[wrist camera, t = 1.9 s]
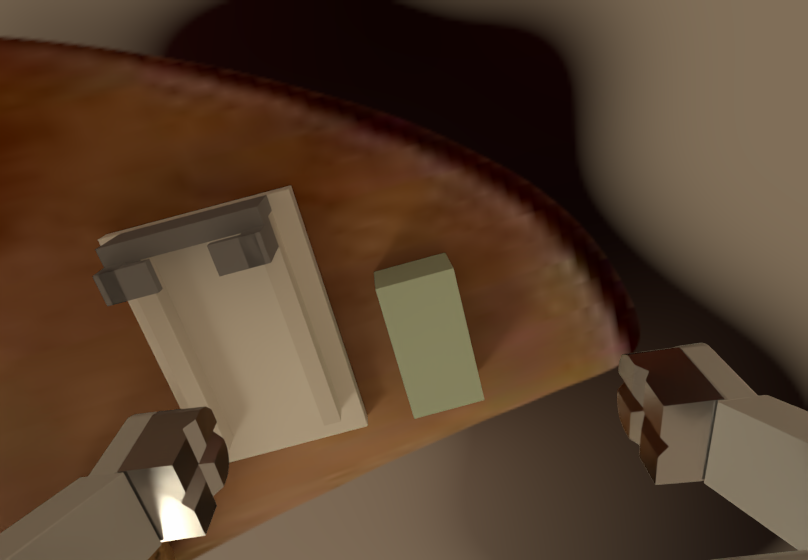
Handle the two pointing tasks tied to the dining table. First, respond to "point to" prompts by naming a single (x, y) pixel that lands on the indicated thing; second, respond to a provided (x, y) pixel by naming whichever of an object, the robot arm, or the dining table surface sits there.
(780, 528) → the robot arm
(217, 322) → the beige shallow tray
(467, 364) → the green block
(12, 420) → the dining table surface
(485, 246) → the dining table surface
